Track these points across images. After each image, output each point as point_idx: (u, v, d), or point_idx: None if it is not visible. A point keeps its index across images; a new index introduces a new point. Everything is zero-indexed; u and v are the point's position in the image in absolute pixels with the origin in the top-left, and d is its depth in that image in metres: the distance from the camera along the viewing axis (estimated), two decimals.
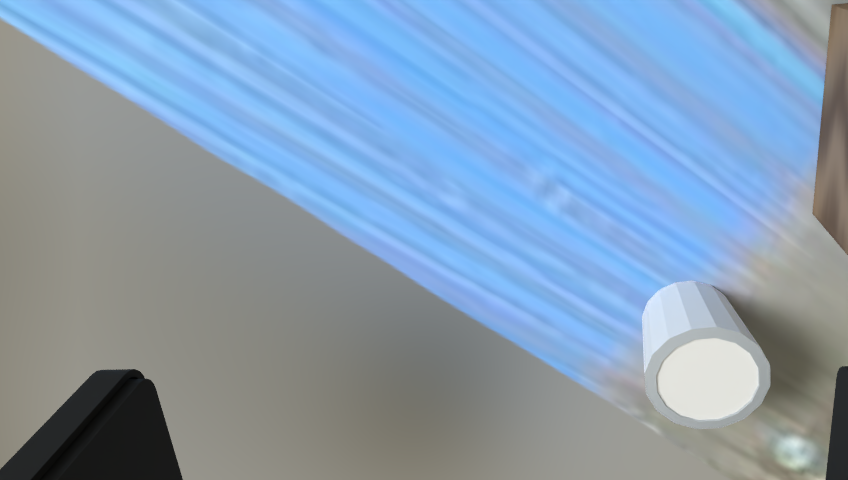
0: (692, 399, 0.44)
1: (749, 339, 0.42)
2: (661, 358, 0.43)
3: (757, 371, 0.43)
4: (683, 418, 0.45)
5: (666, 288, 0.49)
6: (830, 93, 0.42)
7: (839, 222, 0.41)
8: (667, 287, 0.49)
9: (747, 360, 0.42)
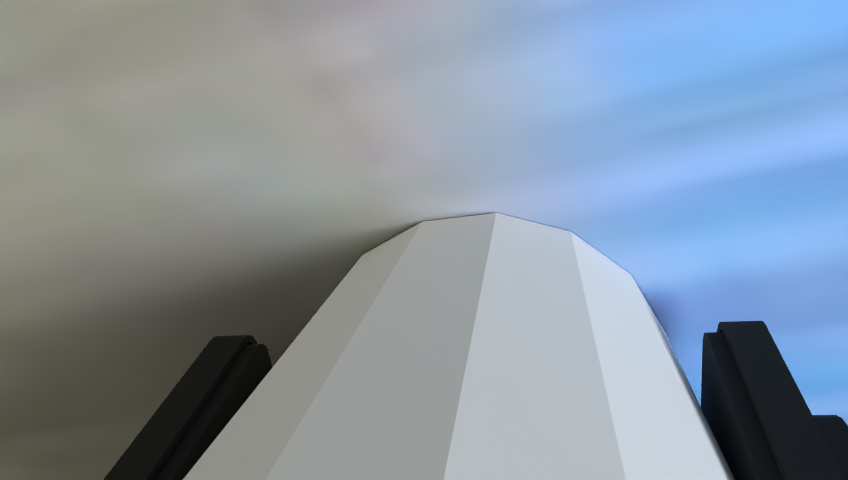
0: None
1: None
2: None
3: None
4: None
5: None
6: None
7: None
8: None
9: None
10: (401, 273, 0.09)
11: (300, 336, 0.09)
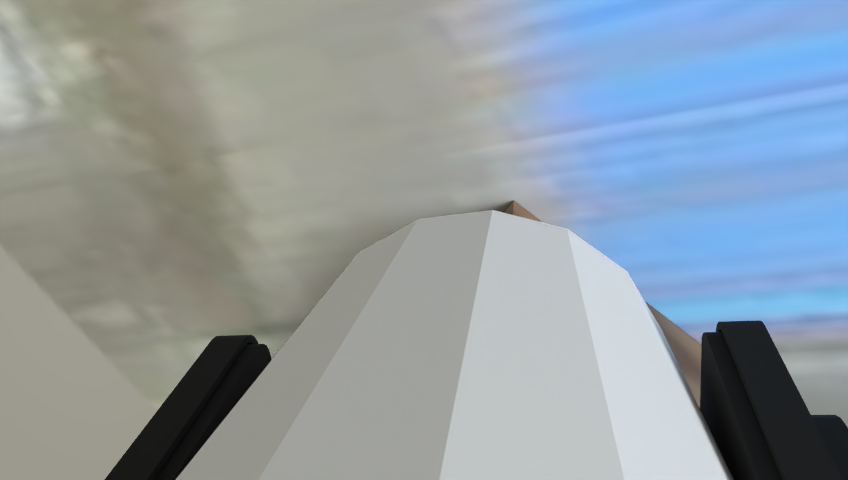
0: None
1: None
2: None
3: None
4: None
5: None
6: (672, 334, 0.28)
7: None
8: None
9: None
10: (398, 269, 0.09)
11: (296, 333, 0.09)
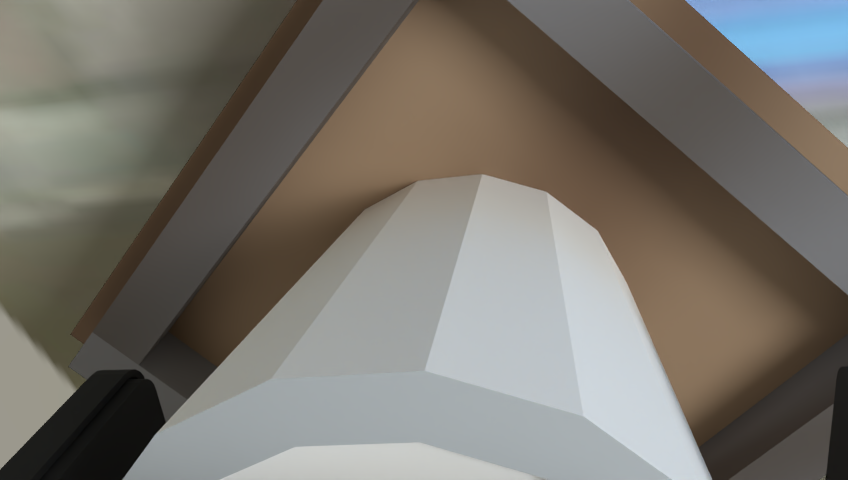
0: None
1: None
2: None
3: None
4: (272, 442, 0.07)
5: None
6: None
7: None
8: None
9: None
10: (400, 216, 0.11)
11: (313, 266, 0.11)
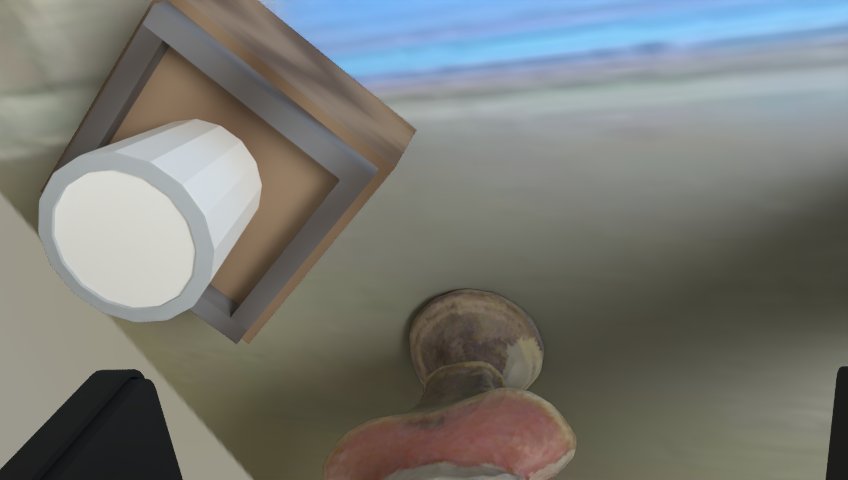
0: (104, 204, 0.28)
1: (152, 319, 0.30)
2: (192, 222, 0.27)
3: (102, 296, 0.29)
4: (80, 172, 0.27)
5: (258, 198, 0.34)
6: (339, 76, 0.37)
7: None
8: (258, 198, 0.34)
9: (124, 298, 0.29)
10: (151, 130, 0.32)
11: None
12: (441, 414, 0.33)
